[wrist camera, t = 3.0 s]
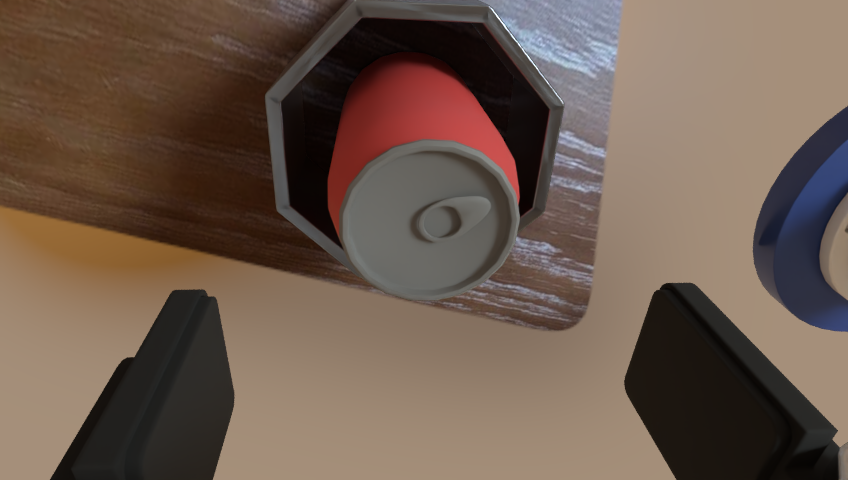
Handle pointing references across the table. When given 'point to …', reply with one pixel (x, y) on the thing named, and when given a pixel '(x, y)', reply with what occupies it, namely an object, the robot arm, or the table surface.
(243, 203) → the table surface
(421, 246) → the beer can
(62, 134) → the table surface
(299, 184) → the black octagonal pot
